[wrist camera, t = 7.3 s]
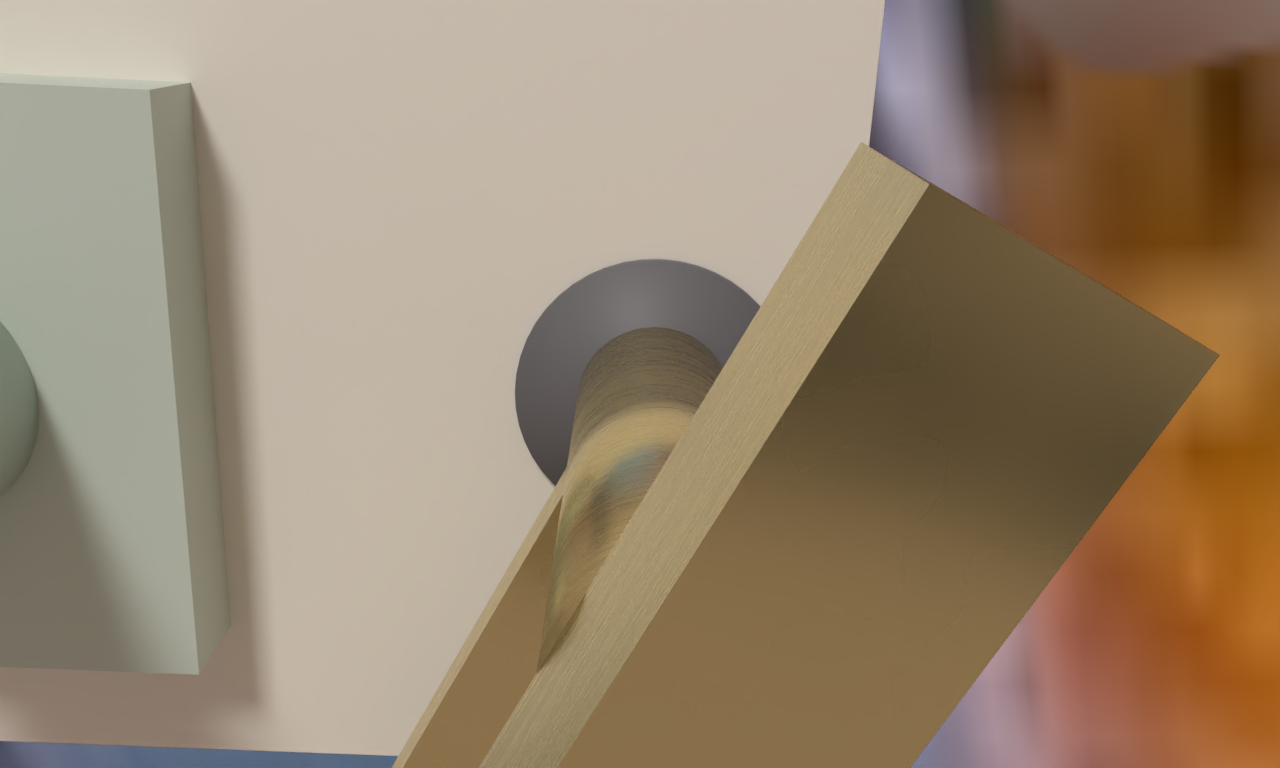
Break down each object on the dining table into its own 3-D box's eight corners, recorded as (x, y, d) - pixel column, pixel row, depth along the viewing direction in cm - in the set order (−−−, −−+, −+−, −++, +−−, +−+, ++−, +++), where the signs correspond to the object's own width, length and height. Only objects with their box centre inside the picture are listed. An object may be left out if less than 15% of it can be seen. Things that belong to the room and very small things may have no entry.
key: (752, 74, 16) (915, 175, 7) (892, 157, 17) (1233, 361, 7) (356, 768, 20) (102, 1462, 11) (478, 823, 21) (340, 1541, 11)
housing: (843, -54, 20) (894, -67, 16) (775, 651, 24) (801, 776, 20) (-265, -110, 20) (-491, -138, 16) (-131, 615, 24) (-280, 735, 20)
